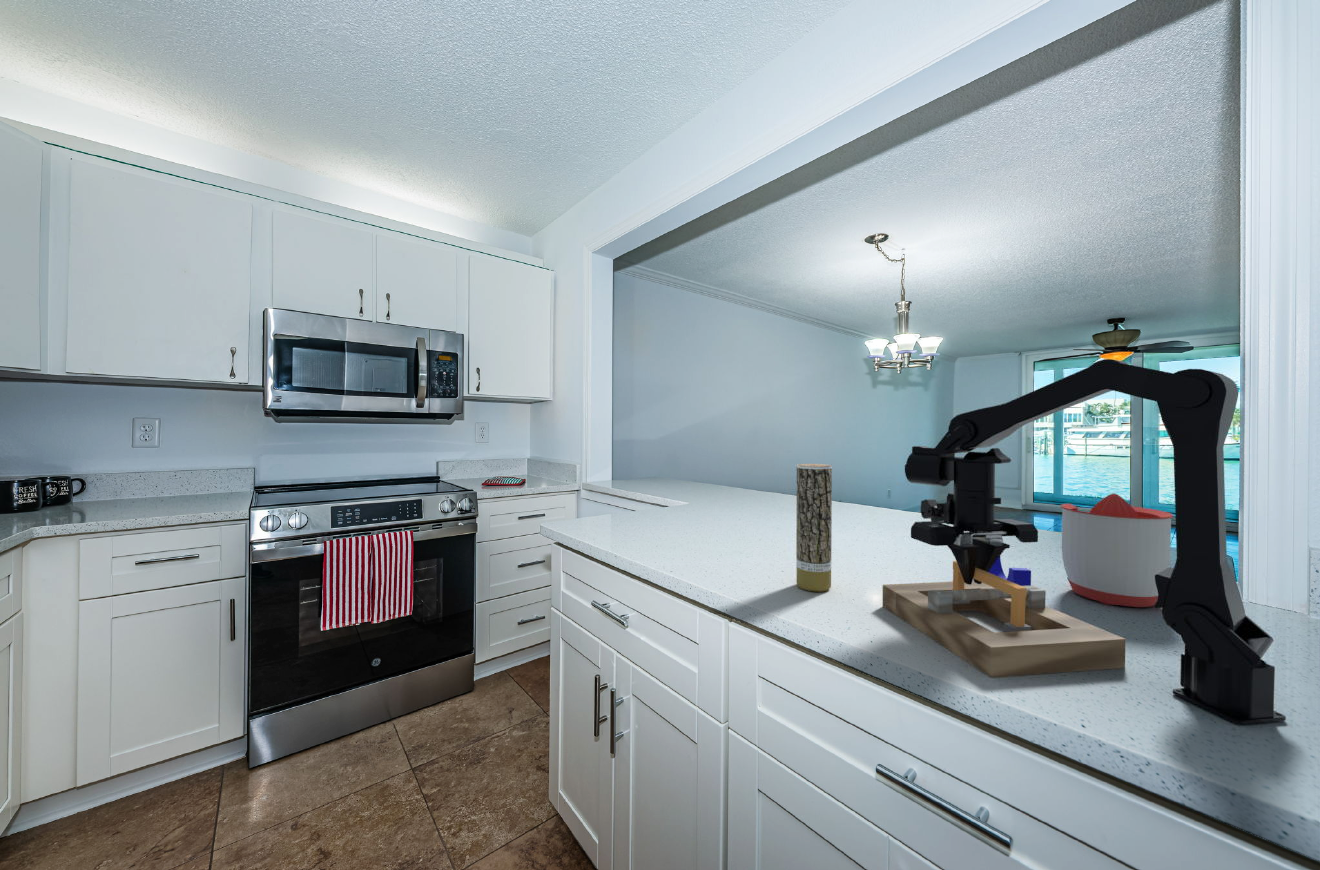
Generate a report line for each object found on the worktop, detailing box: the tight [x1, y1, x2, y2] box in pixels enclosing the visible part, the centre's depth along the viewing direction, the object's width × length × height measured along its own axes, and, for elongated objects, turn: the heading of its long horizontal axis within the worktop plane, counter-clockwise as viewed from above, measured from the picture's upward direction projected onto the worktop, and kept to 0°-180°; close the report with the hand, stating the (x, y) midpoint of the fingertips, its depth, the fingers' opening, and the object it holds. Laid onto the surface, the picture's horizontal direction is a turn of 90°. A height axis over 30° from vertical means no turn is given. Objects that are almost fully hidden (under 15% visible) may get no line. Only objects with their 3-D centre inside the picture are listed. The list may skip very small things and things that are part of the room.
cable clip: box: [973, 555, 1032, 586], centre depth 97 cm, size 12×4×6 cm, turn 172°
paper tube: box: [795, 463, 833, 593], centre depth 99 cm, size 7×7×25 cm
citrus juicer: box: [1060, 493, 1174, 608], centre depth 93 cm, size 16×17×20 cm
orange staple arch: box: [952, 560, 1031, 632], centre depth 78 cm, size 14×3×7 cm, turn 7°
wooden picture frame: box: [882, 580, 1126, 678], centre depth 77 cm, size 25×20×7 cm
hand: (972, 583), depth 80 cm, fingers closed on orange staple arch
